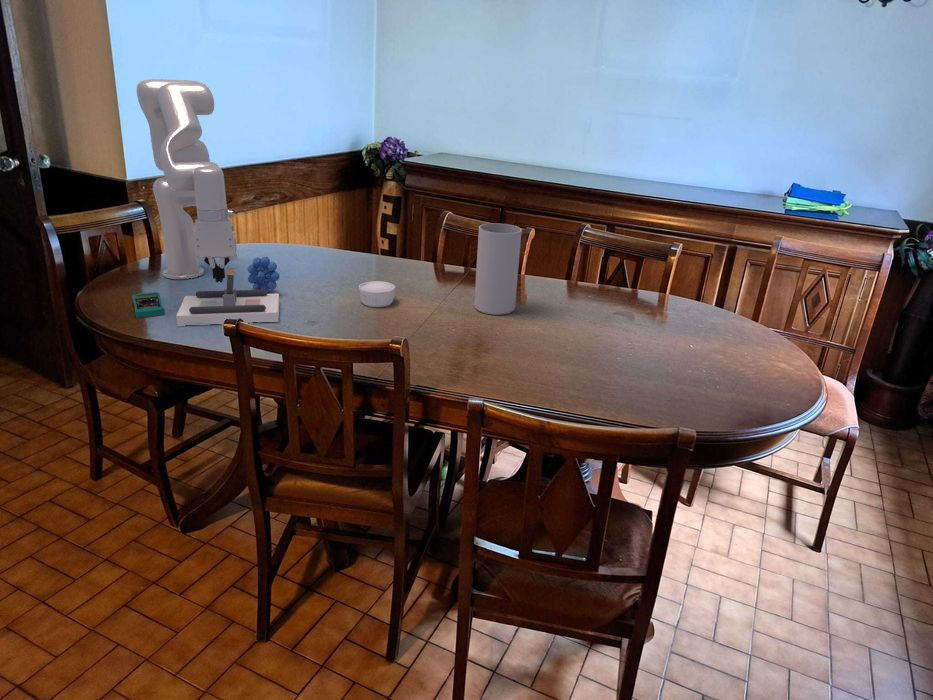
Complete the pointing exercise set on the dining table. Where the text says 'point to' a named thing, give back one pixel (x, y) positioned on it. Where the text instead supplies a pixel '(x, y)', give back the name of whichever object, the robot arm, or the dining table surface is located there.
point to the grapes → (263, 274)
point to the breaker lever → (230, 280)
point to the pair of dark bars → (229, 308)
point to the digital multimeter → (148, 305)
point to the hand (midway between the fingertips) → (219, 280)
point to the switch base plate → (218, 318)
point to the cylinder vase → (497, 268)
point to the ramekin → (377, 293)
